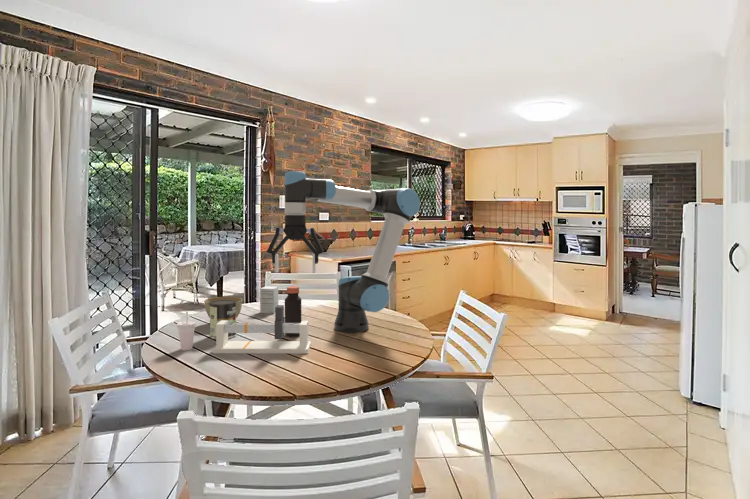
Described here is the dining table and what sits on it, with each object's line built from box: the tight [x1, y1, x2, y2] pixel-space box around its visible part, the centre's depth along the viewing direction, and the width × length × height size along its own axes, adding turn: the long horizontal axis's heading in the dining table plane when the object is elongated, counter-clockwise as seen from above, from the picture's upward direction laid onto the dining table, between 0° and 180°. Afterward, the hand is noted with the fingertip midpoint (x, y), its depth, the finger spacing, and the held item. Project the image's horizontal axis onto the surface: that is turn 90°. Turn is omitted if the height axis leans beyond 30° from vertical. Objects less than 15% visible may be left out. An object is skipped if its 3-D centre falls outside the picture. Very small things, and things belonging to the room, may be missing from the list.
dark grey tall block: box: [274, 304, 285, 340], centre depth 158 cm, size 2×7×11 cm, turn 2°
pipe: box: [224, 322, 300, 334], centre depth 158 cm, size 29×3×3 cm, turn 92°
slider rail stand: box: [211, 320, 312, 354], centre depth 158 cm, size 34×10×10 cm, turn 92°
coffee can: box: [209, 300, 238, 340], centre depth 174 cm, size 10×10×14 cm
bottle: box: [284, 285, 302, 338], centre depth 177 cm, size 7×7×20 cm
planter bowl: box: [204, 296, 243, 319], centre depth 194 cm, size 16×16×11 cm
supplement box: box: [259, 285, 279, 314], centre depth 218 cm, size 7×7×13 cm
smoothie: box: [176, 310, 197, 351], centre depth 157 cm, size 6×6×14 cm
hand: (295, 272), depth 158 cm, fingers open, 13 cm apart
